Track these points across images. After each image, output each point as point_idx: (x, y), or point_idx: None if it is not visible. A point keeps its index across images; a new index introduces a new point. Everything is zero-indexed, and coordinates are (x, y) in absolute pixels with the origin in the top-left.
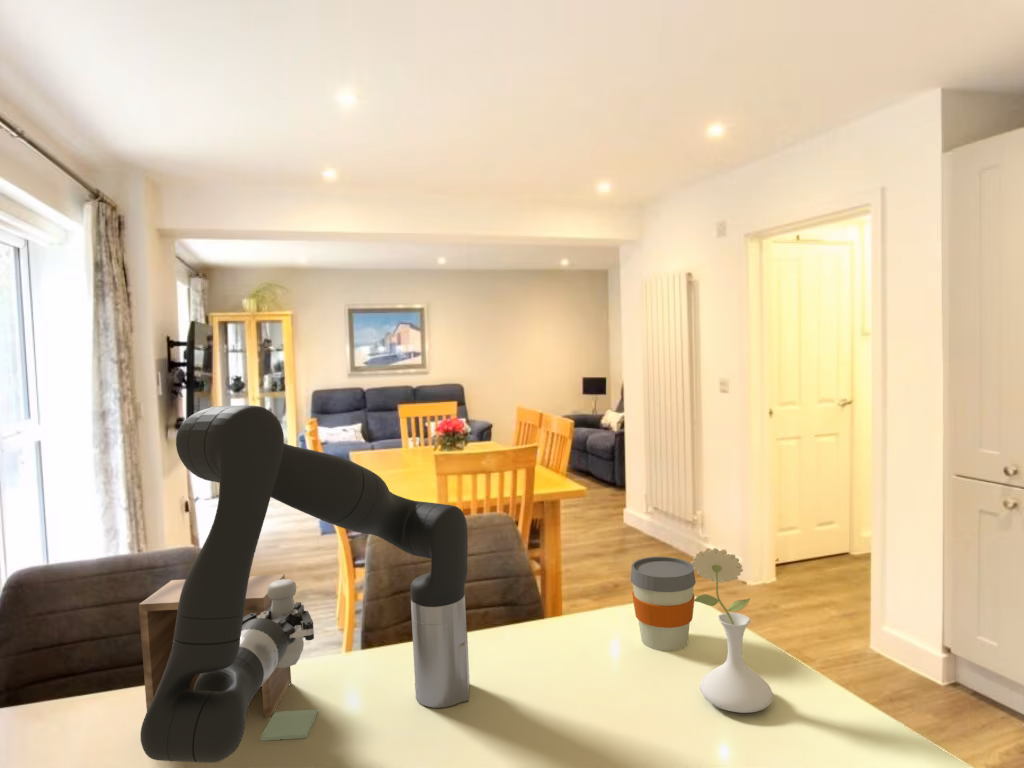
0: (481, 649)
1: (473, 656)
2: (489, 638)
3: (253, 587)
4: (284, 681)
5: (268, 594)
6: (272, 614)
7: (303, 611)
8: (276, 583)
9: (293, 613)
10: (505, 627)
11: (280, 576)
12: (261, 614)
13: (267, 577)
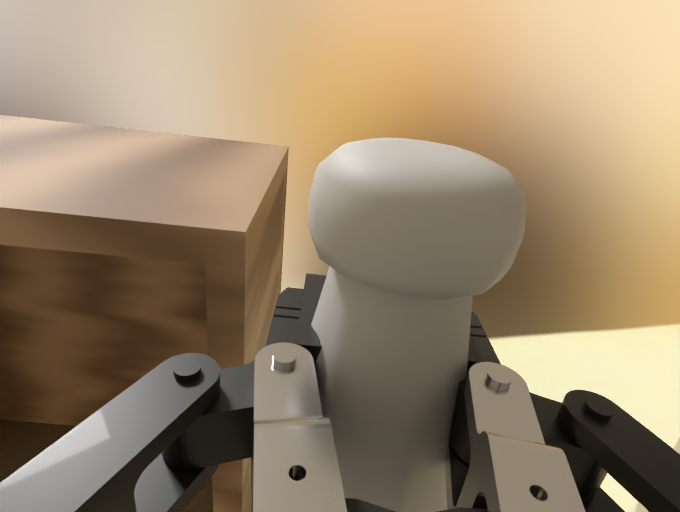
0: (658, 384)
1: (661, 404)
2: (644, 353)
3: (183, 171)
4: None
5: (328, 235)
6: (338, 379)
7: (600, 410)
8: (401, 154)
9: (525, 416)
10: (648, 328)
11: (278, 151)
12: (265, 384)
13: (231, 146)
